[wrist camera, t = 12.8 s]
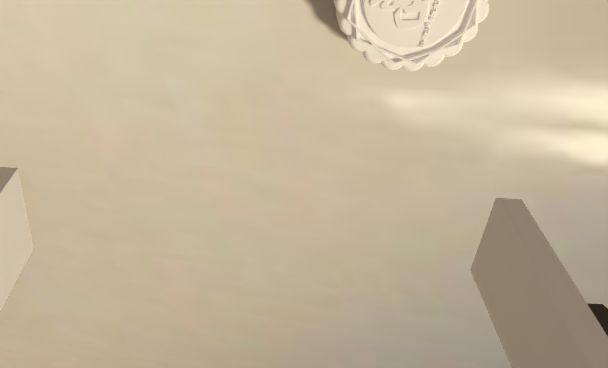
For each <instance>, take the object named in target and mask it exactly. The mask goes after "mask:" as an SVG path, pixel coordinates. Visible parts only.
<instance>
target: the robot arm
mask: <svg viewBox="0 0 608 368" xmlns="http://www.w3.org/2000/svg"><path fill="white" fill-rule="evenodd" d="M33 249H34V248H33V242H32V237H31V232H30V227H29V222H28V217H27V212H26V207H25V202H24V197H23V192H22V187H21V182H20V177H19V172H18V168H7V167H0V311H1V309H2V307H3V305H4V303H5V301H6V299H7V298H8V296H9V294H10V292H11V290H12V288H13V286H14V285H15V283H16V281H17V279H18V277H19V275H20V273H21V271H22V270H23V268H24V266H25V264H26V262H27V260H28V258H29V256H30V255H31V253H32V251H33ZM471 273H472V275H473V277H474V280H475V282H476V284H477V287H478V289H479V291H480V294H481V296H482V298H483V301H484V303H485V306H486V308H487V310H488V313H489V315H490V317H491V320H492V322H493V324H494V327H495V329H496V331H497V334H498V336H499V338H500V341H501V343H502V346H503V348H504V350H505V353H506V355H507V357H508V360H509V362H510V364H511V367H512V368H608V309H607V308H606V307H605V306H604V305H603V304H587V303H586V301H585V300H584V298H583V296H582V295H581V293H580V292H579V290H578V288H577V287H576V285H575V284H574V282H573V281H572V279H571V277H570V276H569V274H568V273H567V271H566V269H565V268H564V266H563V265H562V263H561V261H560V260H559V258H558V257H557V255H556V253H555V252H554V250H553V249H552V247H551V246H550V244H549V242H548V241H547V239H546V238H545V236H544V234H543V233H542V231H541V230H540V228H539V226H538V225H537V223H536V222H535V220H534V219H533V217H532V215H531V214H530V212H529V211H528V209H527V207H526V206H525V204H524V203H523V201H522V200H521V199H505V198H496V199H495V202H494V205H493V208H492V211H491V213H490V216H489V219H488V222H487V225H486V228H485V230H484V233H483V236H482V239H481V242H480V245H479V247H478V250H477V253H476V256H475V259H474V262H473V264H472V267H471Z"/></svg>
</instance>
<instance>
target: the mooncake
mask: <svg viewBox="0 0 608 368" xmlns="http://www.w3.org/2000/svg"><path fill="white" fill-rule="evenodd" d="M333 1H334V5H335V8H336V17H337V20H338V24H339V27H340V29H341V30H342V32H344V33H345V34H346V35H347V38H348V41H349V44H350V46H351V47H352V48H353V49H354V50H356V51H362V53H363V55H364V57H365V59H366V60H367V61H368V62H371V63H380V62H381V64H382V65H383V66H384V67H385V68H386V69H389V70H396V69H399V68H400V67H402V68H404V69H405V70H407V71H415V70H418V69H419V68H421V67H422V66H423V65H425V66H436V65H438V64H439V63H440V62H441V61H442V60H443V58H444V56H447V57H449V56H453V55H455V54H457V53H458V52H459V51H460V50H461V48H462V46H463V42H466V41H469V40H471V39H472V38H473V37H474V36H475V35H476V33H477V31H478V23H479V22H481V21H483V20H484V19H485V18H486V16H487V14H488V12H489V4H488V2H487V0H333Z"/></svg>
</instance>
